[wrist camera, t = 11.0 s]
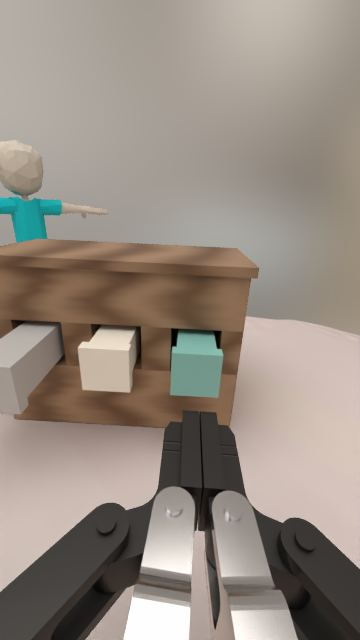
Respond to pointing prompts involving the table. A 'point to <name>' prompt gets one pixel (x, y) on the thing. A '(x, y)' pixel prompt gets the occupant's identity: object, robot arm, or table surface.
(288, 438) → the table surface
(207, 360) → the teal key
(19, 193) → the toy
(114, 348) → the ivory key
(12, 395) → the grey key
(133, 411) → the console
